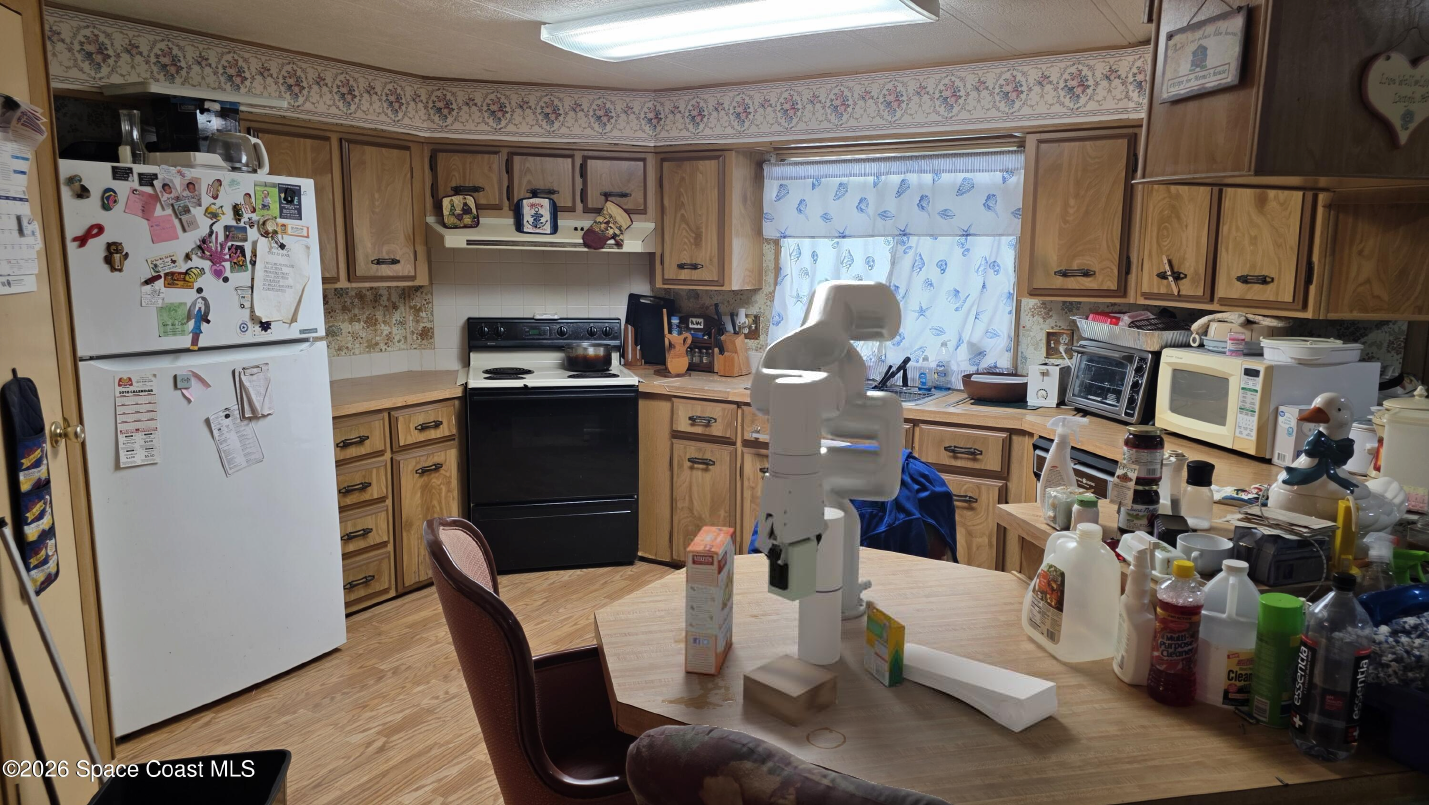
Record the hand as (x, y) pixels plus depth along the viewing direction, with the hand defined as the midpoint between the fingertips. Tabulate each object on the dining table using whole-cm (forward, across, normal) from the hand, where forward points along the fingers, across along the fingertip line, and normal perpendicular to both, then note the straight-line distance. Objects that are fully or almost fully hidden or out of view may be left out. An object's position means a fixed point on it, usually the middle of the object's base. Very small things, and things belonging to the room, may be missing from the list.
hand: (791, 582), depth 132 cm
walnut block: (+20, 0, 0) cm, 20 cm away
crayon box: (+20, -18, +4) cm, 27 cm away
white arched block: (+20, -24, +15) cm, 34 cm away
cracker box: (+20, -2, -20) cm, 28 cm away
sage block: (+2, 0, 0) cm, 2 cm away
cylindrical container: (+19, -16, -8) cm, 27 cm away
